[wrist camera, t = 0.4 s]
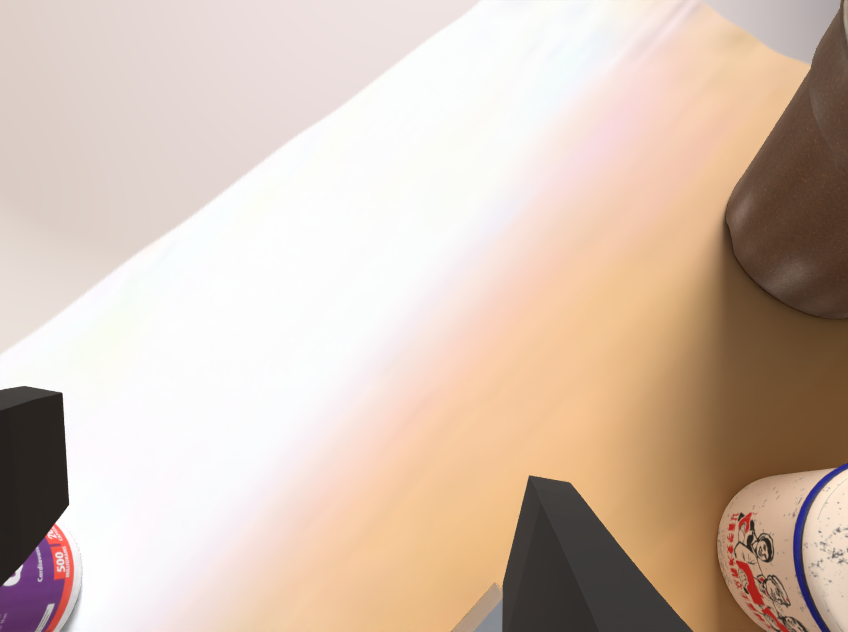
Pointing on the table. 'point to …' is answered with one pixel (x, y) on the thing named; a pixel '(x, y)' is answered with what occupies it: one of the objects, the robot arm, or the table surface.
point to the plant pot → (802, 191)
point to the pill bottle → (43, 586)
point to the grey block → (484, 613)
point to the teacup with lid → (789, 551)
